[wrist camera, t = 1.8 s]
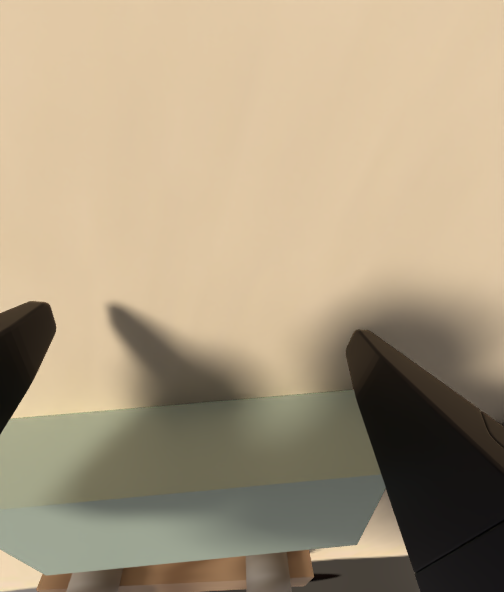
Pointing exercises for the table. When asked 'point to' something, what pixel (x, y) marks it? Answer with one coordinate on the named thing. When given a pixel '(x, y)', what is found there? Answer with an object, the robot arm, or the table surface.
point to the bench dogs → (193, 576)
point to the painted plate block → (186, 482)
